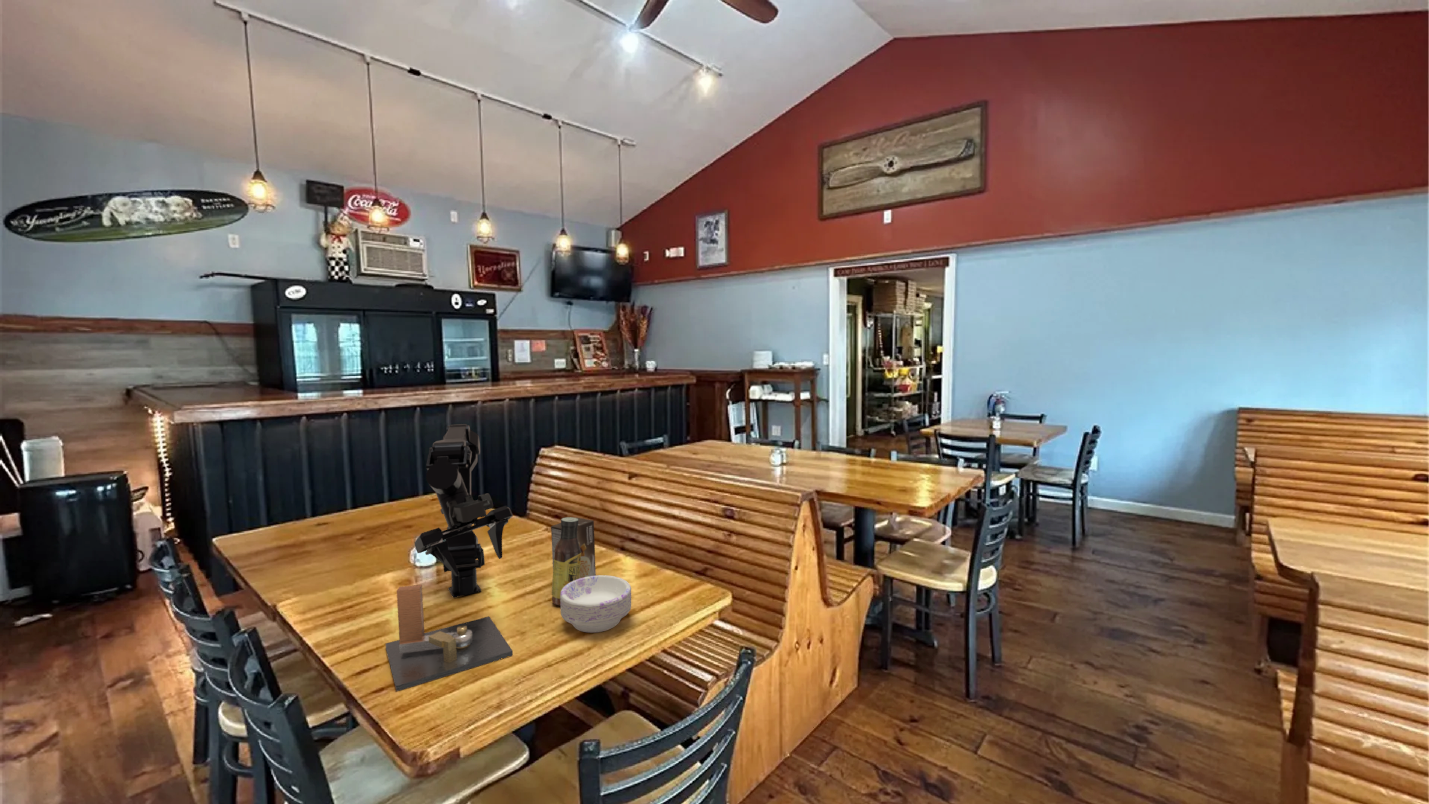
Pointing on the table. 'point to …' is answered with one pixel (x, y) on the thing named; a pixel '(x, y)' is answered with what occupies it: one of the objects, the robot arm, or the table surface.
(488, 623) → the base plate
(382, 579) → the table surface
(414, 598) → the link
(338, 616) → the table surface
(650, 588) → the table surface
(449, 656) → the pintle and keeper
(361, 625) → the table surface
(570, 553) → the sauce bottle
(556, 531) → the coffee box
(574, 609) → the paper bowls
